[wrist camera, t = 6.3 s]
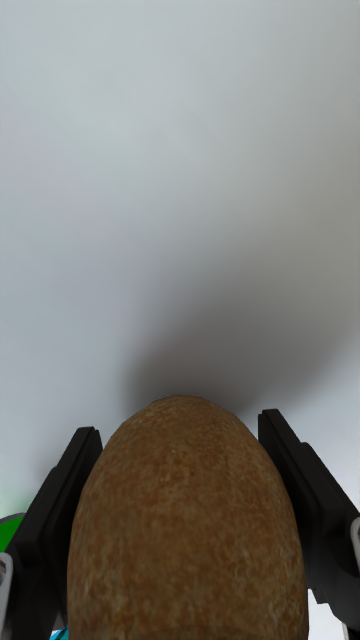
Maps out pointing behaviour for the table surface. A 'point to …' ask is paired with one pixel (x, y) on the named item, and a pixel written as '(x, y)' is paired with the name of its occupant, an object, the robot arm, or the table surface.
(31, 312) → the table surface
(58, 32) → the table surface
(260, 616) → the fruit
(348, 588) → the robot arm
